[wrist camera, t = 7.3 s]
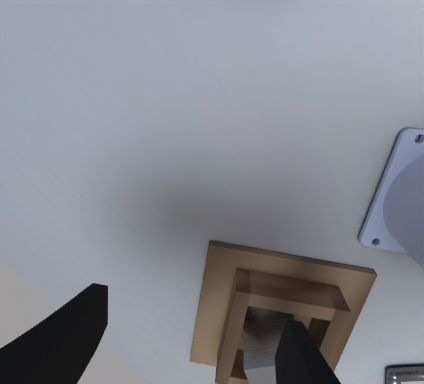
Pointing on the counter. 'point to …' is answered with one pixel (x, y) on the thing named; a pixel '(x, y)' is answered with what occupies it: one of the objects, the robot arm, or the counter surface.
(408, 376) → the hook
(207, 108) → the counter surface
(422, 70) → the counter surface
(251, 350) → the grey tall block
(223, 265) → the well
